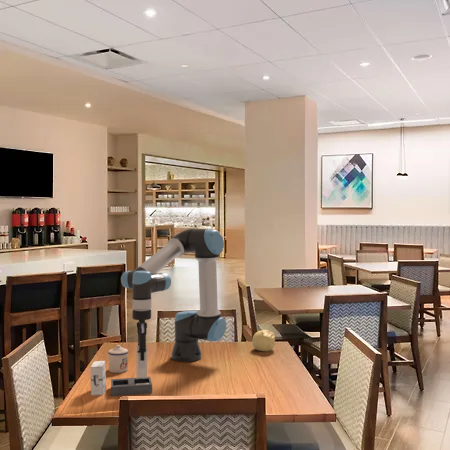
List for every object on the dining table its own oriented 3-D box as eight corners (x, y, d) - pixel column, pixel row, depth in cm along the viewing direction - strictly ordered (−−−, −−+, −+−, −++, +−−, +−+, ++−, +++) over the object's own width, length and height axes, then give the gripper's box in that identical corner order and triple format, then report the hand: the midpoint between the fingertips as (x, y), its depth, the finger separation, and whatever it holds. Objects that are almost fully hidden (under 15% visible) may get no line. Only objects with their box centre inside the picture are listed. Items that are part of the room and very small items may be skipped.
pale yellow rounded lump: (272, 353, 271) (273, 333, 271) (250, 352, 275) (250, 331, 274) (276, 348, 282) (277, 328, 282) (255, 346, 286) (255, 326, 285)
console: (150, 386, 221) (150, 376, 221) (152, 394, 211) (152, 384, 211) (111, 388, 217) (111, 378, 217) (111, 397, 208) (111, 386, 208)
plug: (146, 374, 217) (146, 341, 217) (147, 377, 213) (147, 344, 213) (136, 375, 217) (136, 342, 216) (137, 378, 213) (137, 344, 212)
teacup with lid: (123, 374, 237) (123, 348, 236) (104, 372, 239) (104, 347, 239) (134, 366, 248) (134, 341, 248) (116, 364, 251) (116, 340, 250)
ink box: (93, 389, 217) (93, 360, 217) (106, 389, 217) (106, 360, 217) (90, 396, 208) (90, 366, 208) (103, 396, 209) (103, 366, 208)
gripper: (131, 305, 222) (131, 360, 222) (133, 313, 205) (133, 373, 206) (149, 305, 223) (149, 359, 224) (152, 312, 207) (152, 372, 207)
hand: (141, 366), depth 215 cm, fingers closed on plug, 4 cm apart
